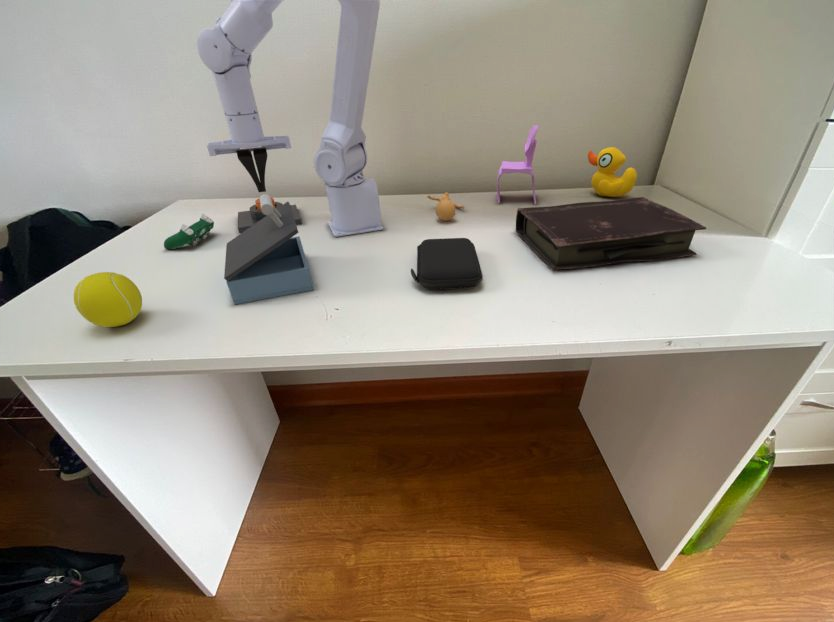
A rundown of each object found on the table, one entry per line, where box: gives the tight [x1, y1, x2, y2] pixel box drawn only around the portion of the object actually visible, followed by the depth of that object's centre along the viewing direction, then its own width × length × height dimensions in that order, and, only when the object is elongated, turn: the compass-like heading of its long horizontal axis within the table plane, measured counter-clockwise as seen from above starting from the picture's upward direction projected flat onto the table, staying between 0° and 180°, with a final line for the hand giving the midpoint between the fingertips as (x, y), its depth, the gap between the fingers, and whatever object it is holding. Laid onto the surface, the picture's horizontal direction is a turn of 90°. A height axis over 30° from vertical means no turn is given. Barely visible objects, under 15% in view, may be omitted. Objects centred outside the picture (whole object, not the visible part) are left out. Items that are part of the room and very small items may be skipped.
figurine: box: [426, 191, 465, 222], centre depth 87 cm, size 8×6×12 cm
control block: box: [237, 201, 303, 234], centre depth 86 cm, size 12×10×3 cm
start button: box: [254, 197, 276, 210], centre depth 85 cm, size 4×4×2 cm
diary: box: [515, 196, 707, 270], centre depth 72 cm, size 19×25×5 cm
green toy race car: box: [163, 213, 215, 250], centre depth 78 cm, size 9×4×6 cm
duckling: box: [587, 146, 638, 198], centre depth 92 cm, size 11×5×10 cm, turn 51°
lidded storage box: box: [226, 235, 314, 305], centre depth 65 cm, size 11×13×4 cm
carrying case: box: [410, 237, 484, 291], centre depth 66 cm, size 11×3×15 cm
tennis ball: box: [73, 271, 143, 328], centre depth 55 cm, size 7×7×7 cm
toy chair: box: [496, 124, 539, 205], centre depth 90 cm, size 8×9×15 cm
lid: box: [223, 193, 299, 282], centre depth 61 cm, size 12×13×4 cm
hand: (262, 190), depth 83 cm, fingers closed
